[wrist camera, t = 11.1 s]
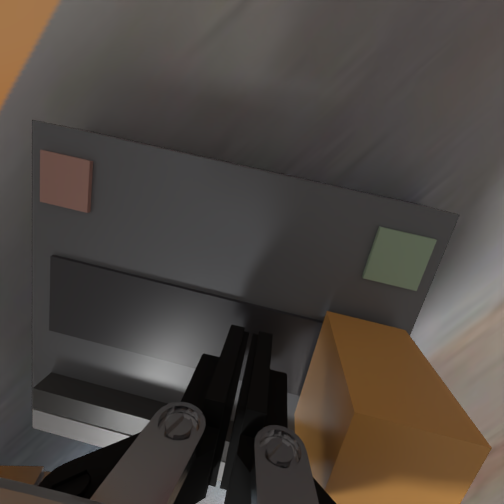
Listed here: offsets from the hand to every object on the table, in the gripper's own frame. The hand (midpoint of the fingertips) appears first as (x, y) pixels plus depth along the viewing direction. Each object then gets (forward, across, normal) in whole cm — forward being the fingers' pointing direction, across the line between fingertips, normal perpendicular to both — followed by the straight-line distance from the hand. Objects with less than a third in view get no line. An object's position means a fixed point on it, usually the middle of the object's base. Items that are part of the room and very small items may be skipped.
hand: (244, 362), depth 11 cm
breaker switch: (+1, -4, 0) cm, 4 cm away
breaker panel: (+4, +2, 0) cm, 5 cm away
